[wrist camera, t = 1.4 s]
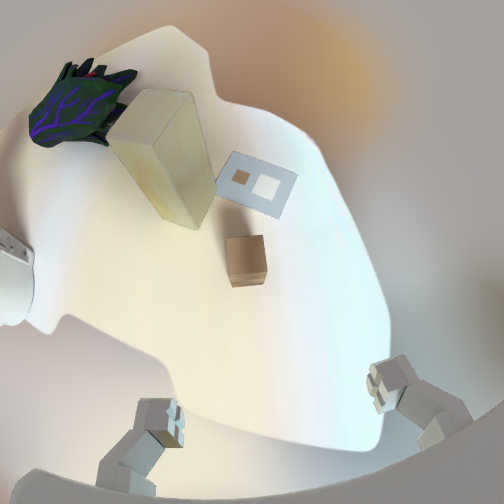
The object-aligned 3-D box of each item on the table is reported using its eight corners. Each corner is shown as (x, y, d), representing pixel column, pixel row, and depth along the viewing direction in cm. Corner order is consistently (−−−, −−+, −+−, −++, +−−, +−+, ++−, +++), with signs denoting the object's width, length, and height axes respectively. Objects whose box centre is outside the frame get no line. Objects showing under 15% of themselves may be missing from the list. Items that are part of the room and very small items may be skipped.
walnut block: (232, 287, 41) (228, 275, 32) (229, 257, 42) (224, 238, 33) (263, 284, 41) (267, 271, 32) (259, 254, 42) (262, 234, 34)
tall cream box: (179, 177, 46) (138, 86, 26) (218, 188, 45) (194, 91, 25) (158, 217, 44) (98, 137, 24) (198, 231, 43) (154, 148, 23)
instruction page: (210, 192, 45) (209, 191, 45) (233, 151, 47) (233, 150, 47) (278, 219, 44) (278, 218, 44) (297, 175, 46) (298, 174, 46)
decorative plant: (92, 135, 60) (192, 95, 53) (39, 199, 44) (152, 153, 37) (59, 74, 45) (161, 15, 38) (-12, 124, 28) (93, 32, 22)
